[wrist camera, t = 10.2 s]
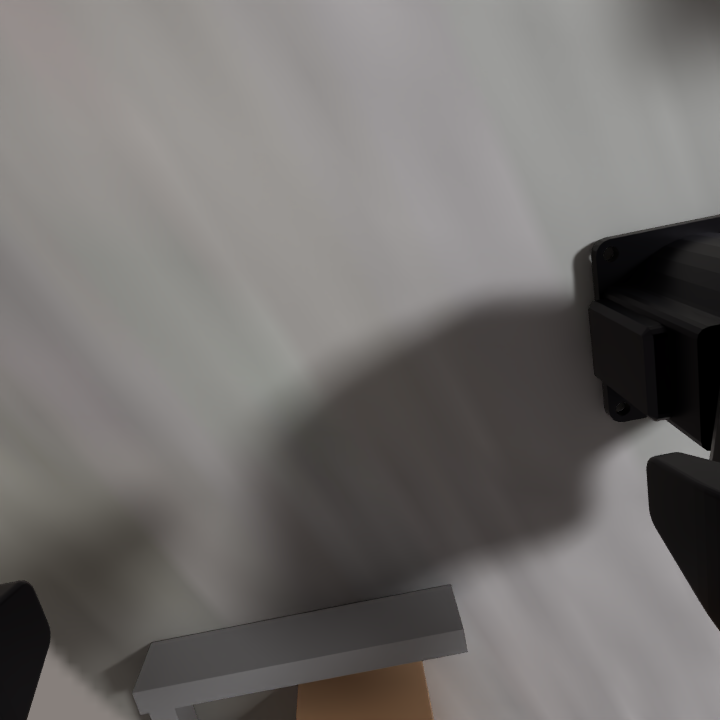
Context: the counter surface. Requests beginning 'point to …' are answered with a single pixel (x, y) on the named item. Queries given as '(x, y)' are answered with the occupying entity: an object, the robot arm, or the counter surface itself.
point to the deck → (297, 651)
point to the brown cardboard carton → (368, 696)
